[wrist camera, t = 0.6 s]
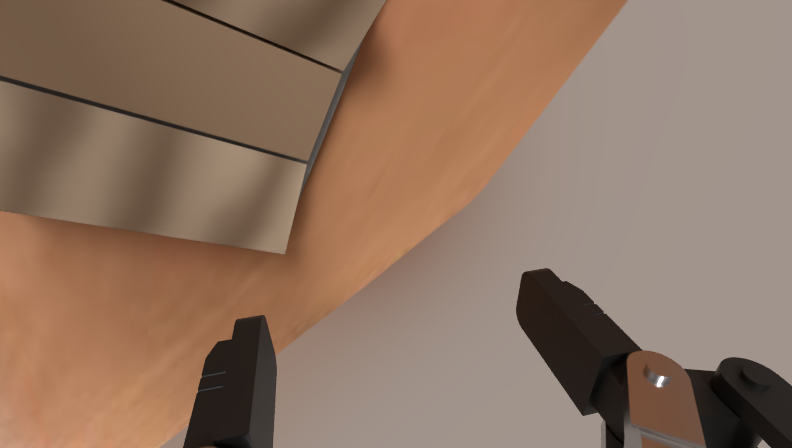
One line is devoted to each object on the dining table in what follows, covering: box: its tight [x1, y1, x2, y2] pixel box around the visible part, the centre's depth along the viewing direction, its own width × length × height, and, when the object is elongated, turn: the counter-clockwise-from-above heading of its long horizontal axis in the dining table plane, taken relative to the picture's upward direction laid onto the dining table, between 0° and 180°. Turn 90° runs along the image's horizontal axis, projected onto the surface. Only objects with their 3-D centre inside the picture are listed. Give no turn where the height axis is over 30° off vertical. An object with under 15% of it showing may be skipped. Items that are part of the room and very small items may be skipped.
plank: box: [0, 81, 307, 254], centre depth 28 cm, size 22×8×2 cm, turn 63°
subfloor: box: [0, 0, 365, 201], centre depth 26 cm, size 24×28×3 cm
